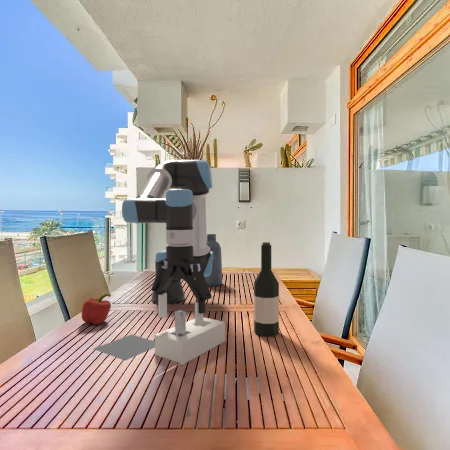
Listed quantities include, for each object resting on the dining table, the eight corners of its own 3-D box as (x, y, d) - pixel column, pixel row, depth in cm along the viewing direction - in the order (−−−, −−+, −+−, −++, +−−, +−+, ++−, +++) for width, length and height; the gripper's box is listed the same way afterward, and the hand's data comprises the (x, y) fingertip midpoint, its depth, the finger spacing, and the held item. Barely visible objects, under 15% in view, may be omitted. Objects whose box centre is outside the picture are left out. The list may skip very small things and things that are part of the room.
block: (182, 365, 87) (181, 342, 87) (154, 356, 93) (154, 334, 93) (225, 341, 104) (225, 321, 104) (199, 334, 110) (199, 316, 109)
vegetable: (105, 316, 130) (105, 290, 130) (118, 322, 123) (117, 295, 122) (76, 322, 122) (76, 295, 122) (88, 329, 115) (87, 300, 115)
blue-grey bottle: (226, 283, 192) (226, 234, 191) (214, 287, 182) (214, 235, 181) (209, 281, 199) (208, 233, 198) (196, 284, 188) (196, 234, 188)
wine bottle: (280, 329, 114) (281, 241, 113) (276, 338, 106) (276, 243, 105) (257, 327, 117) (256, 241, 116) (250, 335, 109) (250, 243, 108)
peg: (173, 354, 94) (172, 312, 94) (180, 351, 96) (179, 309, 96) (180, 357, 92) (180, 314, 92) (188, 353, 95) (187, 311, 94)
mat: (93, 349, 97) (93, 348, 97) (131, 335, 109) (131, 334, 109) (125, 361, 90) (125, 360, 90) (162, 344, 101) (162, 343, 101)
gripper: (138, 243, 97) (139, 316, 98) (207, 248, 83) (207, 332, 84) (157, 242, 104) (158, 310, 104) (224, 246, 90) (224, 324, 90)
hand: (180, 320), depth 94 cm, fingers open, 13 cm apart
